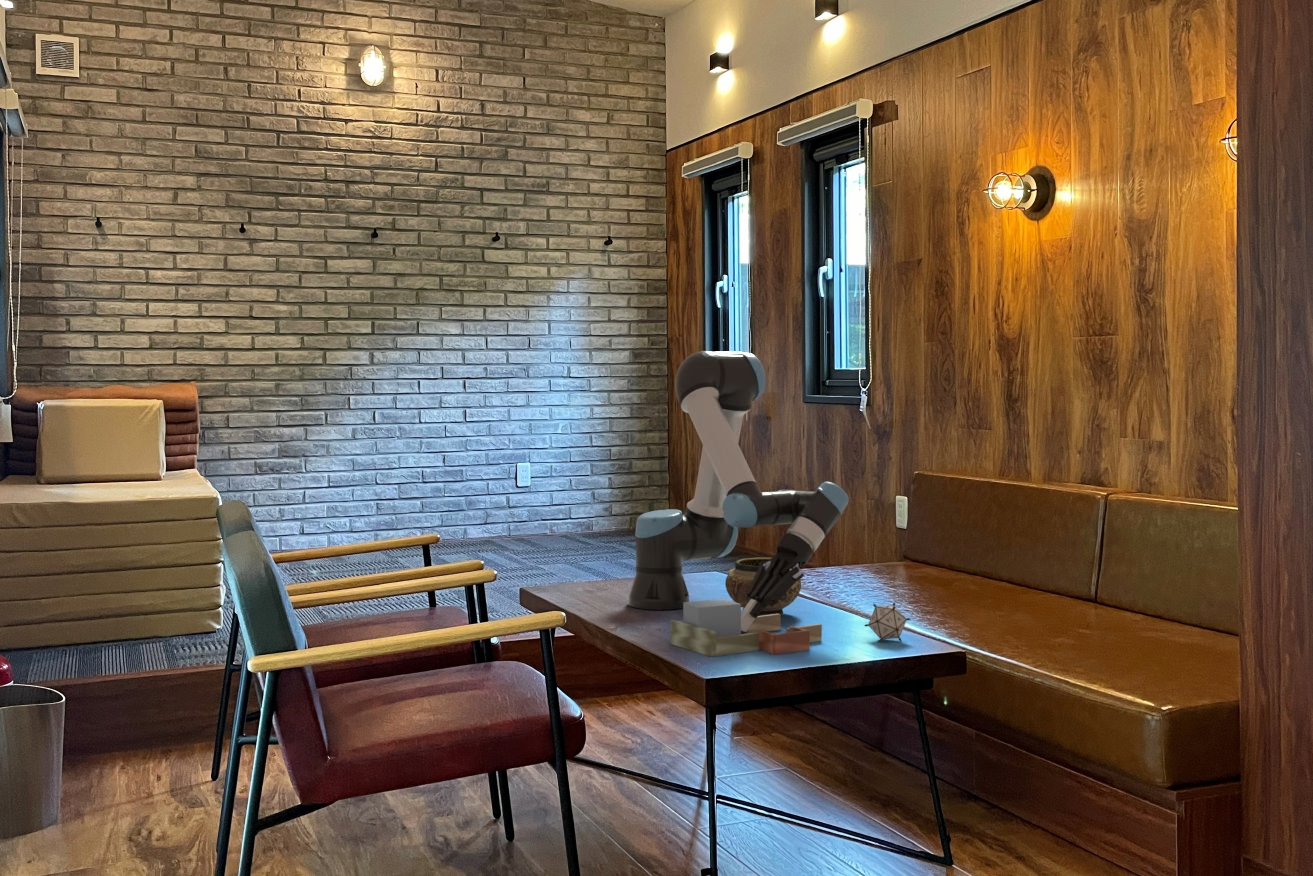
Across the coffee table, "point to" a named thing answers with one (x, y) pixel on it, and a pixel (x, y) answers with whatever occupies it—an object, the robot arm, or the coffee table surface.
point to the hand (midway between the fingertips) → (739, 627)
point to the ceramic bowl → (742, 579)
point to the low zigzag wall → (746, 638)
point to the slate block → (714, 616)
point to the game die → (887, 622)
